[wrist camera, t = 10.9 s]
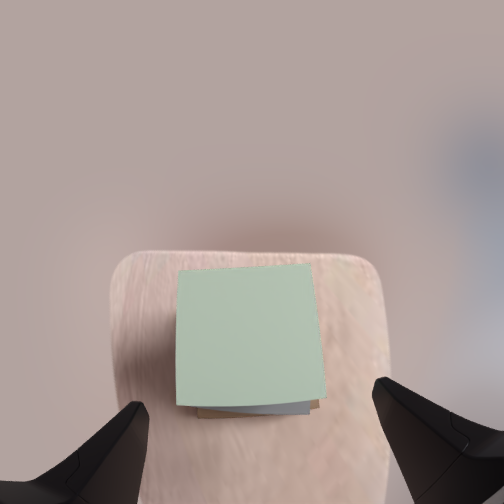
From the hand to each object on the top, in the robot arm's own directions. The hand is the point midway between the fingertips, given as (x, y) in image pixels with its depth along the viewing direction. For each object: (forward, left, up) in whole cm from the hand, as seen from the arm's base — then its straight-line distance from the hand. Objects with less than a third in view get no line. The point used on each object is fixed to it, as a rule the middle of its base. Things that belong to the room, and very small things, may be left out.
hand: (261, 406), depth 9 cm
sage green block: (+3, 0, -8) cm, 9 cm away
